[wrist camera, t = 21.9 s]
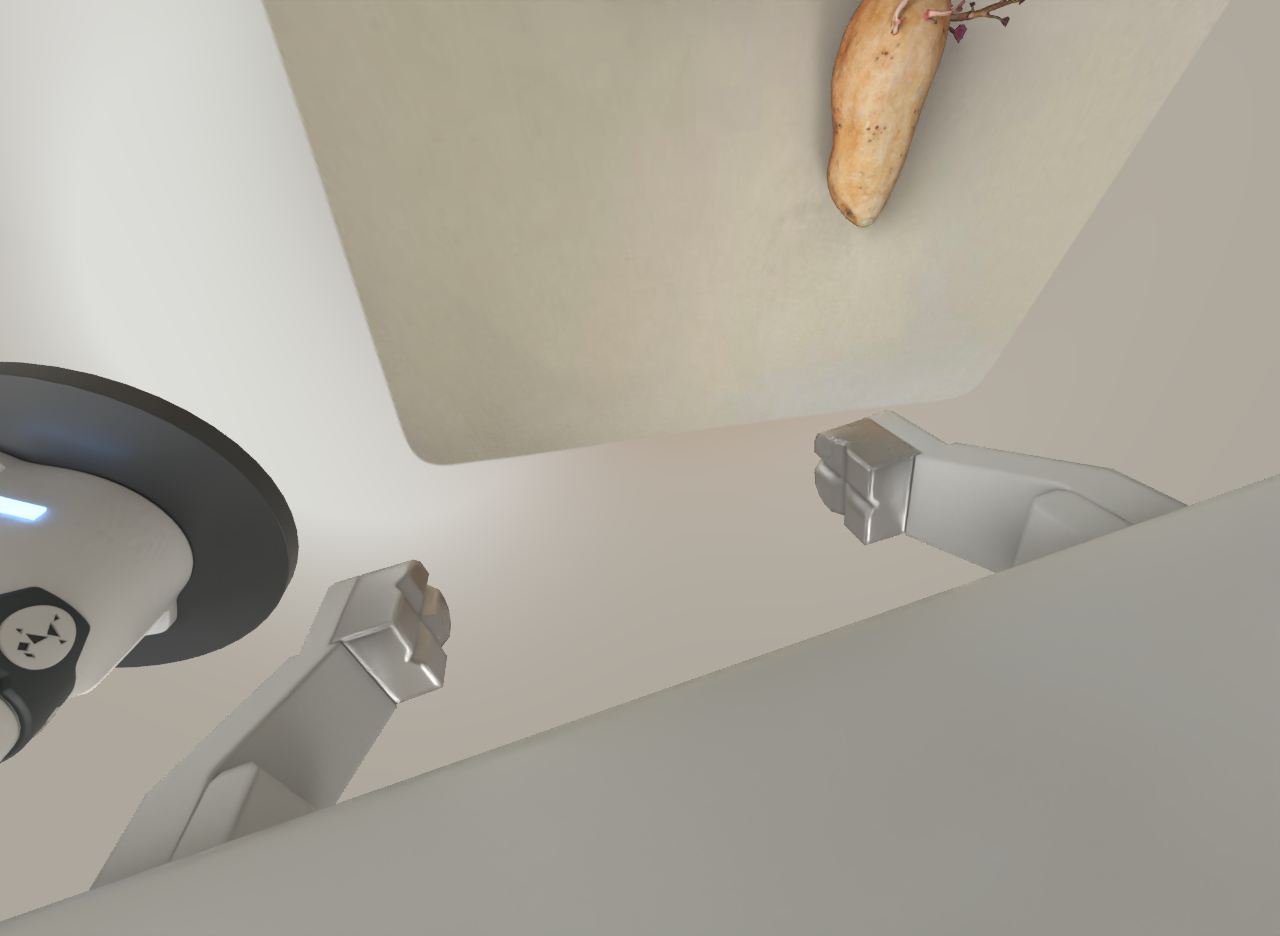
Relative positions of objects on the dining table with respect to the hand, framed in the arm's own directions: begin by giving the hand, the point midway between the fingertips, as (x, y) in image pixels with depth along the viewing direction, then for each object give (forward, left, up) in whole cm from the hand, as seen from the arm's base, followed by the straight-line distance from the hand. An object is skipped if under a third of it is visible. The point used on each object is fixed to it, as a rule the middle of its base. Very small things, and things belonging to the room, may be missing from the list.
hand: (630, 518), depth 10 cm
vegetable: (+27, +5, -31) cm, 42 cm away
